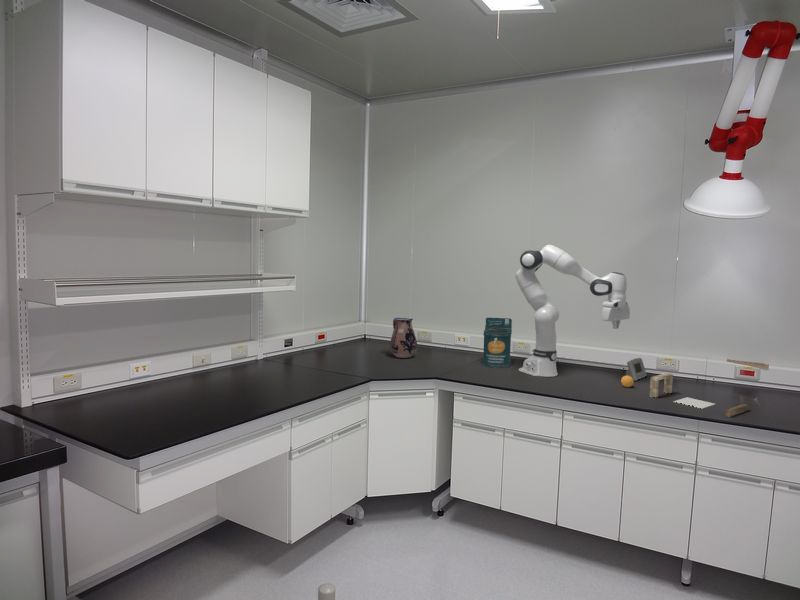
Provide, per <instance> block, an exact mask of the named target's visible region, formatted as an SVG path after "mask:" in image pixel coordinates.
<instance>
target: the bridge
mask: <svg viewBox="0 0 800 600" xmlns="http://www.w3.org/2000/svg"><path fill="white" fill-rule="evenodd" d="M673 379H674V374H672V373H667V372H666V373H662V374H658V375H653V376H650V382H649V383H650V384H649V397H650V398H653V397H655V398H654V399H657V397H658V398H659V383H660V382H659V381H661V380H664V384H663V393H664V392H665V393H664V394H667V393H669V394H668V395H671V394H670V393H672V394H673V381H674V380H673Z"/></svg>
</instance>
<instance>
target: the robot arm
mask: <svg viewBox="0 0 800 600" xmlns="http://www.w3.org/2000/svg"><path fill="white" fill-rule="evenodd" d="M519 263H520V265H521V266H522V267H521V268H519V269H518V270H517V271H516V272H515V280H516V282H517V285H518V287H519V289H520V292H521V293H522V294H523V296H524V298H525V299H526V301H527V303H528V304H529V305H530V306H531V307H532V309H533V310H534V311H535V313H534V318H533V319H534V327H535V348H534V349H532V350H531V352H532V355H531V356H529V357H528V358H526V359H524V361H523V364H522V367H520V368H518V371H519V372H521V373H524V374H527V375H529V376H532V377H547V378H548V377H557V376H558V370H557V369H558V368H557V353H558V352H557V333H556V322H557V321H558V320H559V318H560V312H559V310H558V308H557V307H556V305H555V304H554V302H553V301H552V299H551V298H550V297H549V296H548V294H547V293H546V292H545V289H544V288H543V286H542V284H541V282H540V281H539V279H538V278H537V275H536V272H537V271H538V270H539V269H540V268H541V267H542V266H543V264H545V265H548V266H549V267H551V268H553V269H554V270H555V271H557V272H559V273H562V274H563V275H567V276H569V275H570V276H573V277H575V278H578V279H579V280H581V281H582V282H584V283H585V284H587V285H589V291H590V292H591V294H592V295H593V296H596V297H602V296H608V297H607V299H606V300H605V301H603V302H602V304H601V305H602V309H601V311H602V314H601V318H602V321H603V322H611V324H612V329H614V330H615V329H616V330H617V329H619V328H620V324H621V321H623V320H629V319H630V317H631V315H630V313H631V312H630V306H629V304H628V302H627V295H626V291H627V287H628V285H627V284H628V283H627V277H626V275H625V274H624V273H622V272H615V271H611V272H610V273H608V274H606V275H605V276H599V275H597V274H594V273H593V272H592V271H590V270H588V269H586V268H585V267H584V266H583V265H581V264H580V263H579V262H578V261H577V260H576V259H575V258H574V257H573V256H572V255H571V254H569V253H567V251H565V250H563V249H562V248H559V247H557V246H555V245H553V244H546V245H544V246H543V248H541V250H536V249H529V250H526V251H525V250H524V252H522V254H521V255H520V257H519Z"/></svg>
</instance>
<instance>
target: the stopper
mask: <svg viewBox="0 0 800 600" xmlns="http://www.w3.org/2000/svg"><path fill="white" fill-rule="evenodd" d="M747 411H749V404H746V403H741V404H739V405H737V406H734V407H730V408H728V409H725V410H724V414H723V415H724V417H727V418H731V417H734V416H737V415H739V414H742V413H745V412H747Z"/></svg>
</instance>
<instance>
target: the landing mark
mask: <svg viewBox="0 0 800 600" xmlns="http://www.w3.org/2000/svg"><path fill="white" fill-rule="evenodd" d="M672 402H673V403H676V402H677V403H676V404H680V403H682V404H681V405H684V404H685V405H684V406H688V405H690V406H689V407H692V405H693V406H694V408H696V407H697V409H700V408H701V409H700V410H702V409H706V408H710V407H712V406H715V405H716V403H714V402H709V401H705V400H700V399H696V398H692V397H687V396H686V397H683V398H681V399H680V398H679V399H677V400H673V401H672Z"/></svg>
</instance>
